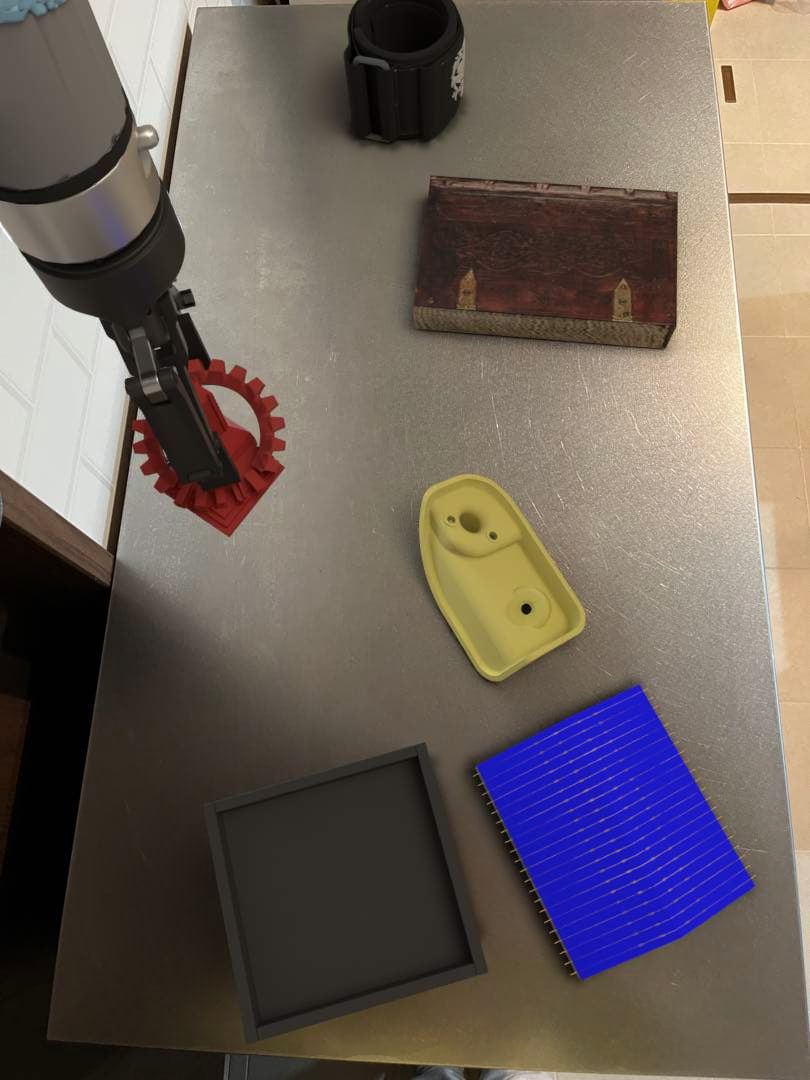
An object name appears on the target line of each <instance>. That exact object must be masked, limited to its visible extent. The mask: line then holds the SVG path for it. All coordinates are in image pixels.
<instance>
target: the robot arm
mask: <svg viewBox="0 0 810 1080" xmlns="http://www.w3.org/2000/svg"><path fill="white" fill-rule="evenodd" d="M159 142H160V137H159V133H158V130H157V129H156V128H155V127H154V126H153V125H152V124H149V123H148V124H143V125H140V126H138V125H137V120H136V117H135V114H134V111H133V109H132V108H131V104H130V101H129V98H128V95H127V93H126V91H125V88H124V86H123V84H122V81H121V79H120V76H119V73H118V70H117V69H116V66H115V63H114V61H113V59H112V56H111V53H110V51H109V49H108V46H107V43H106V41H105V38H104V36H103V34H102V31H101V29H100V26H99V23H98V21H97V19H96V16H95V14H94V11H93V8H92V6H91V3H90V1H89V0H0V228H1V229H2V231H3V232H4V234H5V235H6V237H7V238H8V239H9V240H10V241H11V242H12V243H13V244H14V245H15V246H16V247H17V249H18V251H19V253H20V254H21V255H22V257H23V258H24V260H25V261H26V262H27V264H28V265H29V267H30V268H31V270H32V271H33V272H34V274H35V275H36V277H37V278H38V280H39V281H40V282H41V284H42V285H43V287H44V288H45V289H46V291H47V292H48V293H49V295H50V296H52V298H53V299H55V300H56V301H57V302H58V303H60V304H61V305H62V306H64V307H66V308H68V309H70V310H72V311H74V312H77V313H79V314H83V315H86V316H90V317H94V318H97V319H98V320H99V322H100V324H101V326H102V329H103V331H104V333H105V335H106V337H107V338H109V339H110V340H112V341H113V342H114V343H115V345H116V348H117V351H118V352H119V354H120V356H121V359H122V361H123V363H124V365H125V367H126V370H127V371H128V373H129V375H130V376H128V377H125V378H124V390H125V393H126V395H127V396H129V399H130V400H131V401H132V402H133V403H134V404H135V406H136V408H138V409H139V410H140V411H141V413H142V415H143V416H144V419H145V418H146V420H147V422H148V424H149V425H150V427H151V429H152V431H153V433H154V434H155V436H156V438H157V440H158V442H159V443H160V445H161V447H162V449H163V452H164V454H165V457H166V460H167V465H168V467H172V466H173V468H174V470H175V472H176V474H177V476H178V479H179V480H180V481H181V483H182V484H183V485H187V484H191V483H194V482H197V483H198V484H199V485H200V487H201V488H202V490H203V491H204V492H206V491H209V490H213V489H217V488H220V487H224V486H227V485H231V484H235V483H238V482H241V479H240V475H239V472H238V470H237V468H236V466H235V464H234V462H233V460H232V459H231V457H230V455H229V453H228V451H227V449H226V448H225V446H224V444H223V442H222V440H221V438H220V436H219V435H218V433H217V431H214V432H212V430H211V428H210V425H209V423H208V420H207V418H206V415H205V413H204V410H203V408H202V405H201V403H200V400H199V398H198V395H197V393H196V390H195V388H194V385H193V383H192V380H191V378H190V375H189V373H188V361H189V360H194V359H199V360H200V361H201V362H202V364H203V366H204V369H205V370H208V369H209V367H210V364H211V361H212V359H211V357H210V354H209V353H208V350H207V348H206V346H205V344H204V342H203V340H202V338H201V336H200V334H199V331H198V329H197V327H196V324H195V323H194V321H193V318H192V316H191V314H190V312H188V311H187V312H184V313H182V310H187V309H191V308H194V307H197V304H196V300H195V297H194V293H193V291H192V289H191V288H187V289H183V290H180V289H178V288H177V287H176V285H175V284H174V283H176V282H178V279H177V278H178V276H179V273H180V272H181V269H182V267H183V264H184V261H185V256H186V247H187V245H186V244H187V243H186V237H185V231H184V229H183V225H182V223H181V221H180V219H179V216H178V213H177V211H176V208H175V206H174V204H173V202H172V199H171V197H170V195H169V192H168V190H167V186H166V185H165V183H164V181H163V180H162V178H161V176H160V175H159V171H158V169H157V166H156V164H155V162H154V160H153V157H152V155H151V152H150V151H151V150H154V149H155V148H156V147H158V146H159ZM3 509H4V507H3V497H2V493H1V491H0V527H1V525H2V520H3V512H4V511H3Z"/></svg>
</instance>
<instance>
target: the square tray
mask: <svg viewBox="0 0 810 1080" xmlns="http://www.w3.org/2000/svg"><path fill="white" fill-rule="evenodd" d="M202 810H203V814H204V819H205V821H204V822H205V826H206V832H207V837H208V842H209V848H210V853H211V858H212V864H213V870H214V876H215V880H216V887H217V891H218V896H219V902H220V907H221V913H222V918H223V924H224V929H225V935H226V940H227V945H228V951H229V956H230V961H231V962H230V963H231V968H232V973H233V978H234V984H235V990H236V995H237V1000H238V1004H239V1005H238V1006H239V1011H240V1016H241V1022H242V1029H243V1034H244V1039H245V1044H246V1045H251V1044H254V1043H257V1042H260V1041H264V1040H268V1039H271V1038H274V1037H277V1036H280V1035H284V1034H287V1033H291V1032H294V1031H297V1030H298V1031H299V1030H301V1029H304V1028H307V1027H311V1026H314V1025H318V1024H321V1023H325V1022H327V1021H331V1020H335V1019H338V1018H340V1017H344V1016H348V1015H351V1014H355V1013H358V1012H361V1011H364V1010H368V1009H371V1008H374V1007H378V1006H381V1005H384V1004H387V1003H391V1002H394V1001H398V1000H401V999H404V998H408V997H410V996H414V995H418V994H421V993H425V992H428V991H431V990H435V989H438V988H441V987H445V986H447V985H451V984H454V983H458V982H461V981H465V980H468V979H472V978H474V977H475V978H476V977H477V976H481V975H484V974H485V975H486V974H488V973H489V968H488V964H487V961H486V957H485V953H484V951H483V946H482V943H481V940H480V939H481V938H480V936H479V931H478V928H477V925H476V921H475V917H474V913H473V910H472V906H471V903H470V899H469V895H468V891H467V888H466V884H465V880H464V878H463V877H464V876H463V873H462V869H461V866H460V863H459V862H460V861H459V859H458V855H457V852H456V848H455V844H454V841H453V837H452V834H451V830H450V826H449V822H448V819H447V815H446V812H445V808H444V803H443V801H442V797H441V794H440V789H439V786H438V783H437V779H436V776H435V771H434V768H433V765H432V761H431V757H430V753H429V750H428V746H427V743H426V742H425V741H423V742H420V743H416V744H413V745H409V746H406V747H403V748H398V749H394V750H392V751H388V752H384V753H381V754H377V755H374V756H370V757H366V758H363V759H360V760H356V761H353V762H350V763H346V764H342V765H339V766H335V767H331V768H328V769H325V770H320V771H317V772H314V773H310V774H307V775H303V776H300V777H296V778H293V779H289V780H286V781H282V782H279V783H276V784H271V785H268V786H264V787H261V788H258V789H254V790H251V791H247V792H244V793H240V794H237V795H232V796H229V797H227V798H222V799H219V800H215V801H212V802H207V803H205V804H203V805H202Z"/></svg>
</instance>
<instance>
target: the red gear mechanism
mask: <svg viewBox="0 0 810 1080" xmlns="http://www.w3.org/2000/svg"><path fill="white" fill-rule="evenodd" d="M188 373H189V375H190V378H191V380H192V383H193V385H194V388H195V390H196V393H197V395H198V398H199V400H200V403H201V405H202V408H203V410H204V413H205V415H206V418H207V420H208V423H209V425H210V428H211V430H212V432H214V431H217V433H218V435H219V436H220V438H221V440H222V442H223V444H224V446H225V448H226V449H227V451H228V453H229V455H230V457H231V459H232V460H233V462H234V464H235V466H236V468H237V470H238V472H239V475H240V479H241V482H238V483H235V484H231V485H227V486H224V487H220V488H217V489H213V490H209V491H206V492H204V491H203V490H202V488H201V487H200V485H199V484H198V483H197V482H194V483H191V484H187V485H183V484H182V483H181V481H180V480H179V479H178V476H177V474H176V472H175V470H174V468H173V466H172V467H168V465H167V460H166V454H165V452H164V450H163V449H162V447H161V445H160V443H159V442H158V440H157V438H156V436H155V434H154V433H153V431H152V429H151V427H150V425H149V424H148V422H147V420H146V418H145V417H144V418H141V419H133V420H132V422H131V430H132V431H134V432H137V433H139V434H142V435H143V439H141V440H139V441H136V442H134V443H132V450H133V454H135V455H147V458H148V459H147V460H145V461H144V462H143V464H141V465H140V466H139V469H140V471H141V473H142V474H143V476H152V475H156V474H157V475H158V477H157V480H156V481H155V483H154V485H153V489H155V490H156V491H157V492H158V493H159V494H164V495H165V496H167V497H169V498H170V499H171V500H173V502H172V504H173V505H174V506H176V507H178V508H180V509H184V510H186V509H187V510H188V511H190V512H191V513H192V514H194V515H196V516H197V517H198V518H200V519H201V520H203V521H205V522H206V523H207V524H209V525H211V526H212V527H213V528H215V529H216V530H218V531H219V532H221V533H222V534H224V535H225V536H227V538H231V536H232V535H233V534H234V533H235V531H236V530H237V529H238V528H239V526H240V525H241V524H242V523H243V521H244V520H245V519H246V517H247V516H248V515H249V514H250V513H251V511H252V510H253V509H254V507H256V505H257V504H258V503H259V501H260V500H261V499H262V498H263V496H264V495H265V494H266V493H267V492H268V490H269V489H270V487H271V486H272V485H273V484H274V483H275V481H276V480H277V479H278V478H279V476H280V475H281V474H282V473H283V471H284V470H285V469H286V467H285V465H283V464H282V463H281V462H280V460H278V459H276V457H275V456H274V455H273V453H274V452H285V451H286V445H287V441H286V440H284V439H281V438H278V437H276V436H275V433H276V432H278V431H281V430H283V429H285V428H286V422H285V417H283V416H272V415H271V413H272V412H273V411H274V410H275V409H277V407H279V402H278V399H276V396H275V395H273V394H271V395H268V396H264V397H261V394H262V393H263V391H264V389H265V387H266V384H265V383H264V382H263V381H262V380H261V379H260V378H259V377H258V376H256V377H254V378H253V379H251V380H249V381H248V382H245V381H246V377H247V373H248V370H247V369H246V368H244V366H243V367H242V366H241V365H239V364H235V365H234V366H233V367H232V368H231V370H230V371H229V373H227V371H226V362H225V361H224V360H223V359H218V358H212V359H211V364H210V367H209V369H208V370H205V369H204V366H203V364H202V362H201V361H200V360H199V359H194V360H189V361H188ZM203 386H217V387H223V388H226V389H229V390H231V391H233V392H235V393H236V394H238V395H239V396H240V397H242V398H243V399H244V400H245V401H246V403H248V405H249V406H250V408H251V409H252V411H253V413H254V415H255V417H256V420H257V423H258V429H259V444H258V441H257V439H256V437H255V436H254V435H253V433H252V432H251V431H249V430H248V429H246V428H244V427H243V426H241V425H240V424H238V423H237V422H235V421H233V420H232V419H231V418H229V417H227V415H224V413H223V412H222V409H221V407H220V406H219V402H217V399H216V397H215V395H214V394H213V392H212V391H210V390H208V389H207V388H206V387H203Z"/></svg>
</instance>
